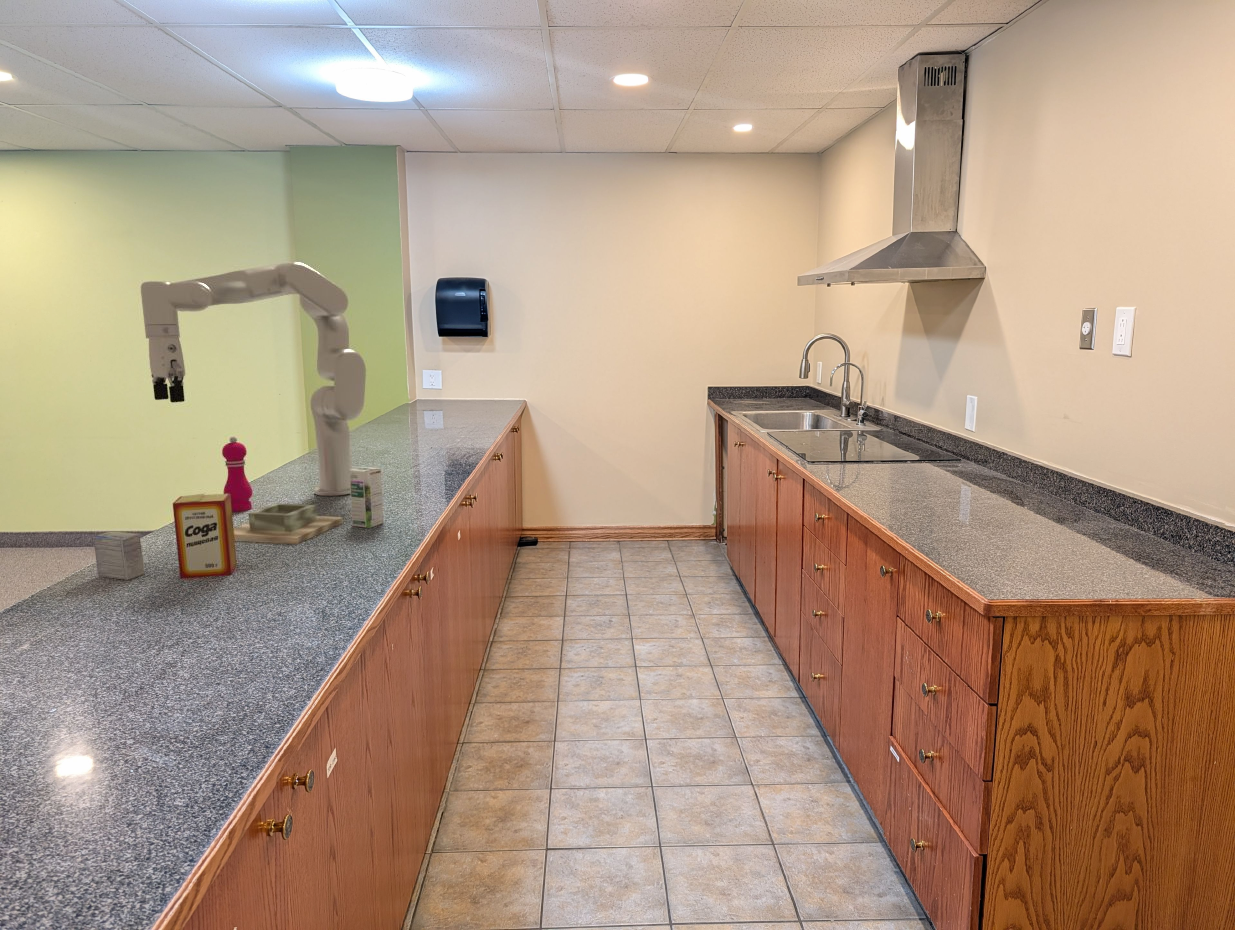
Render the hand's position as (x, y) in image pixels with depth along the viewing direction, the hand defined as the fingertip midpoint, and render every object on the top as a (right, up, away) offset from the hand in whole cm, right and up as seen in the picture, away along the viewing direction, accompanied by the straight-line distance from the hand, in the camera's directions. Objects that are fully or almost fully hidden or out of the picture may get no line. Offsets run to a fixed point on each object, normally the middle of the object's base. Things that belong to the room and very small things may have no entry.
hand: (169, 400), depth 211 cm
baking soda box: (+29, -39, -38) cm, 61 cm away
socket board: (+31, -32, -6) cm, 46 cm away
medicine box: (+12, -39, -40) cm, 57 cm away
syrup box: (+50, -32, 0) cm, 59 cm away
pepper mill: (+10, -29, +17) cm, 35 cm away
